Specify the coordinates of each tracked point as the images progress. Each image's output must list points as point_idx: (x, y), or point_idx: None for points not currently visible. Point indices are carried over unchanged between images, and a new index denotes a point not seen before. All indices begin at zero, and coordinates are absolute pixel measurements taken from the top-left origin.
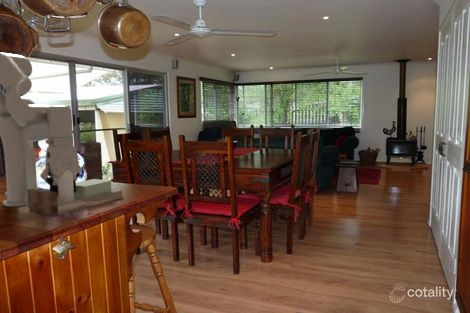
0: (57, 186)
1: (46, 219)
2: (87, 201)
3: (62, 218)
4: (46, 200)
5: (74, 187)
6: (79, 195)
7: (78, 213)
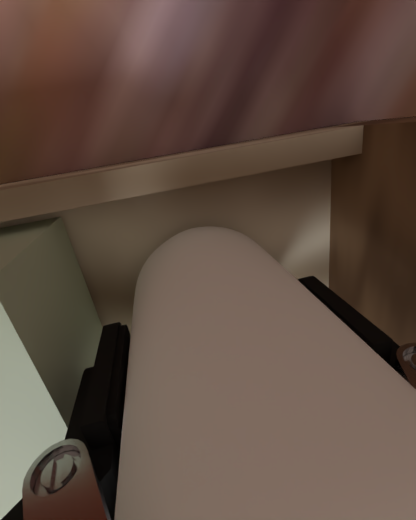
0: (362, 332)
1: (410, 92)
2: (51, 179)
3: (357, 9)
4: None
5: (113, 356)
6: (72, 307)
7: (213, 40)
